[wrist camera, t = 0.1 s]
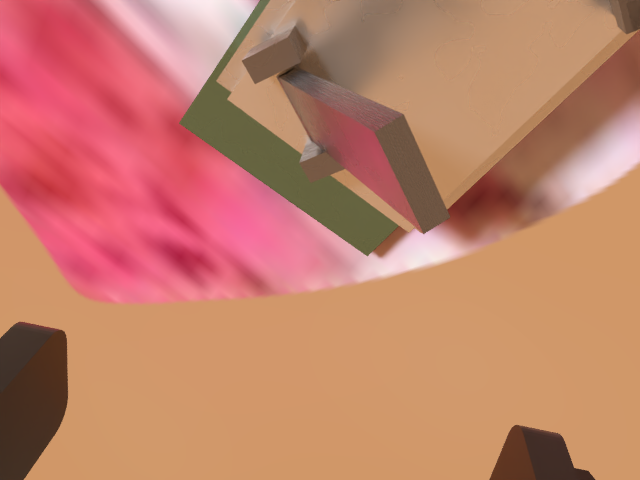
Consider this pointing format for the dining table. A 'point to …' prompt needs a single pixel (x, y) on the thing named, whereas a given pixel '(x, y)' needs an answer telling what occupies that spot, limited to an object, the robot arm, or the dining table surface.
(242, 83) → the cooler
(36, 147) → the dining table surface
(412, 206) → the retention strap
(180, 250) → the dining table surface
